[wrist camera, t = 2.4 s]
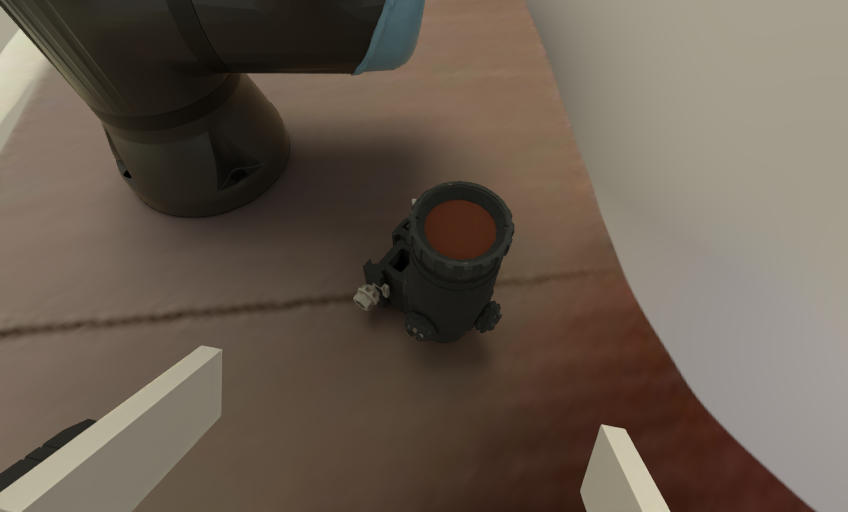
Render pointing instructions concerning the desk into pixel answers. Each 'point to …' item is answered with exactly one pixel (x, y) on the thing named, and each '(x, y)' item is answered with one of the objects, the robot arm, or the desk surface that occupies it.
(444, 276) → the scope
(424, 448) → the desk surface
